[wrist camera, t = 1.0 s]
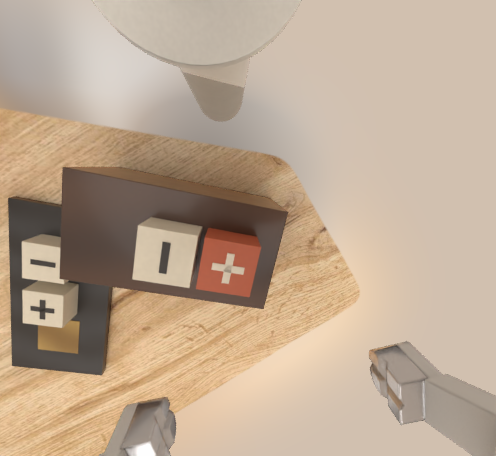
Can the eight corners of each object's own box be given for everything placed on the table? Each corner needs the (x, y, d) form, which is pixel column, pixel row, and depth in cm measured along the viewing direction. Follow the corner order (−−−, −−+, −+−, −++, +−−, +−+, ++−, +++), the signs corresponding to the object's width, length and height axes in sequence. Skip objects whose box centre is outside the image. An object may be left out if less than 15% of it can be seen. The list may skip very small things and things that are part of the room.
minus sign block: (42, 233, 29) (20, 241, 26) (81, 240, 30) (64, 248, 27) (41, 267, 30) (21, 278, 27) (79, 273, 31) (63, 284, 28)
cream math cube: (41, 278, 31) (21, 290, 28) (79, 283, 31) (63, 296, 28) (41, 308, 32) (21, 323, 29) (77, 313, 32) (61, 328, 29)
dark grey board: (15, 196, 29) (7, 197, 28) (118, 215, 30) (114, 217, 29) (17, 360, 34) (11, 366, 33) (105, 369, 36) (101, 376, 35)
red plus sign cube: (208, 227, 21) (204, 237, 18) (257, 236, 22) (261, 247, 19) (200, 273, 22) (195, 289, 19) (247, 280, 23) (249, 297, 20)
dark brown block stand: (118, 166, 29) (62, 166, 19) (270, 198, 31) (288, 212, 21) (112, 244, 31) (58, 279, 22) (254, 268, 33) (263, 309, 24)
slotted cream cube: (150, 216, 21) (137, 225, 18) (202, 226, 21) (198, 236, 18) (145, 264, 22) (131, 280, 19) (194, 272, 22) (189, 288, 19)
